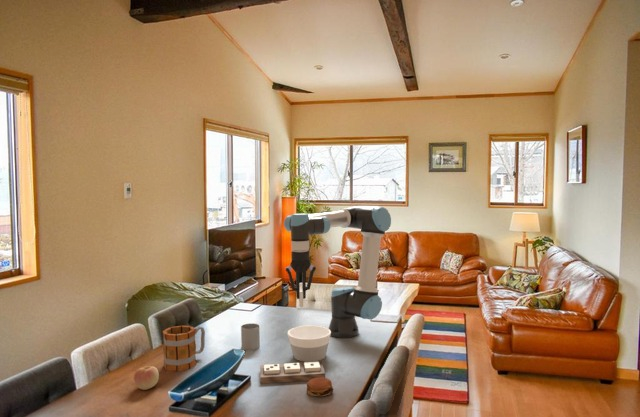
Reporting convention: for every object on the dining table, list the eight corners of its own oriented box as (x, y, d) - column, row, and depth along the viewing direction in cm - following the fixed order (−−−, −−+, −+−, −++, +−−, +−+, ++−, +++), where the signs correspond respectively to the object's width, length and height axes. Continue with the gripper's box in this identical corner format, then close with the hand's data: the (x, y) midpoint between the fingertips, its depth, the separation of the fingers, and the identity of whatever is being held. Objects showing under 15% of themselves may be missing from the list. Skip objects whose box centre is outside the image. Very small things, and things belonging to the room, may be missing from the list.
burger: (301, 391, 178) (301, 378, 177) (322, 384, 183) (322, 372, 183) (316, 401, 169) (316, 388, 169) (338, 394, 175) (337, 381, 174)
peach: (135, 394, 176) (134, 373, 176) (134, 385, 184) (133, 364, 184) (160, 390, 180) (159, 369, 179) (158, 381, 188) (157, 361, 187)
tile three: (279, 372, 194) (279, 363, 194) (279, 378, 188) (279, 369, 188) (264, 373, 193) (264, 364, 193) (264, 379, 187) (264, 370, 187)
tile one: (318, 370, 196) (318, 361, 196) (320, 375, 190) (320, 366, 190) (304, 370, 195) (303, 361, 195) (305, 376, 189) (305, 367, 189)
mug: (175, 374, 194) (174, 337, 193) (156, 366, 203) (155, 331, 202) (214, 359, 210) (213, 325, 209) (195, 352, 218) (194, 320, 217)
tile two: (299, 371, 195) (298, 362, 195) (300, 377, 189) (300, 367, 189) (284, 372, 194) (284, 363, 194) (285, 378, 188) (284, 368, 188)
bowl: (336, 350, 219) (336, 327, 218) (323, 366, 200) (322, 341, 200) (297, 346, 225) (297, 323, 224) (280, 361, 207) (280, 336, 206)
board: (321, 367, 199) (321, 361, 199) (325, 379, 187) (325, 373, 187) (260, 371, 196) (260, 365, 196) (260, 383, 184) (260, 377, 184)
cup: (256, 351, 219) (255, 329, 219) (239, 349, 221) (238, 328, 220) (262, 344, 228) (261, 323, 227) (245, 343, 229) (245, 323, 229)
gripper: (314, 248, 206) (315, 303, 207) (284, 249, 204) (285, 304, 206) (316, 251, 198) (317, 307, 200) (285, 252, 197) (286, 309, 198)
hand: (301, 306), depth 203 cm, fingers closed
